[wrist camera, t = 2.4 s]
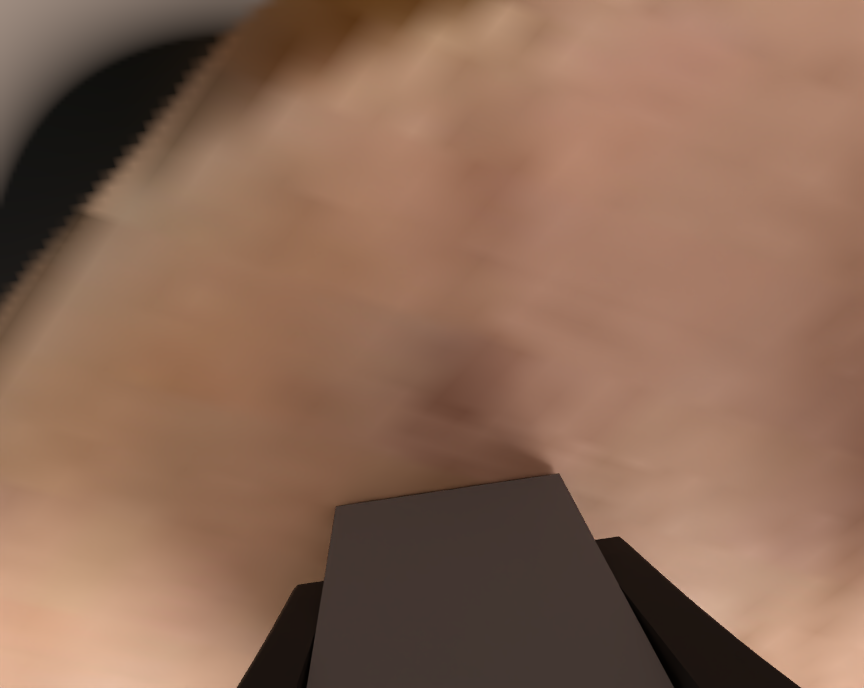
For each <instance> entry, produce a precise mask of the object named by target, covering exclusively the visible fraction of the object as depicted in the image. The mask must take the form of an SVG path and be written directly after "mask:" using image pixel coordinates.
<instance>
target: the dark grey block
mask: <svg viewBox="0 0 864 688" xmlns="http://www.w3.org/2000/svg"><path fill="white" fill-rule="evenodd" d="M307 688H674V687H673V685H672V683H671V681H670V679H669V678H668V676H667V674H666V672H665V670H664V668H663V666H662V664H661V663H660V661H659V659H658V657H657V655H656V653H655V651H654V650H653V648H652V646H651V644H650V642H649V640H648V638H647V637H646V635H645V633H644V631H643V629H642V627H641V625H640V623H639V622H638V620H637V618H636V616H635V614H634V612H633V610H632V609H631V607H630V605H629V603H628V601H627V599H626V597H625V595H624V594H623V592H622V590H621V588H620V586H619V584H618V582H617V581H616V579H615V577H614V575H613V573H612V571H611V569H610V568H609V566H608V564H607V562H606V560H605V558H604V556H603V554H602V553H601V551H600V549H599V547H598V545H597V543H596V541H595V540H594V538H593V536H592V534H591V532H590V530H589V528H588V527H587V525H586V523H585V521H584V519H583V517H582V515H581V513H580V512H579V510H578V508H577V506H576V504H575V502H574V500H573V499H572V497H571V495H570V493H569V491H568V489H567V487H566V486H565V484H564V482H563V480H562V478H561V476H560V474H552V475H546V476H539V477H532V478H525V479H519V480H512V481H505V482H498V483H491V484H485V485H478V486H471V487H464V488H458V489H451V490H444V491H437V492H431V493H424V494H417V495H410V496H404V497H397V498H390V499H383V500H377V501H370V502H363V503H356V504H350V505H343V506H336V509H335V516H334V522H333V528H332V534H331V540H330V546H329V553H328V559H327V565H326V571H325V577H324V584H323V590H322V596H321V602H320V608H319V615H318V621H317V627H316V633H315V639H314V645H313V652H312V658H311V664H310V670H309V676H308V683H307Z"/></svg>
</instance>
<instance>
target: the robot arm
mask: <svg viewBox="0 0 864 688" xmlns="http://www.w3.org/2000/svg"><path fill="white" fill-rule="evenodd" d="M595 541H596V543H597V545H598V547H599V549H600V551H601V553H602V554H603V556H604V558H605V560H606V562H607V564H608V566H609V568H610V569H611V571H612V573H613V575H614V577H615V579H616V581H617V582H618V584H619V586H620V588H621V590H622V592H623V594H624V595H625V597H626V599H627V601H628V603H629V605H630V607H631V609H632V610H633V612H634V614H635V616H636V618H637V620H638V622H639V623H640V625H641V627H642V629H643V631H644V633H645V635H646V637H647V638H648V640H649V642H650V644H651V646H652V648H653V650H654V651H655V653H656V655H657V657H658V659H659V661H660V663H661V664H662V666H663V668H664V670H665V672H666V674H667V676H668V678H669V679H670V681H671V683H672V685H673V687H674V688H801V687H799V686H798V685H797V684H795V683H794V682H793V681H791V680H790V679H789V678H787V677H786V676H785V675H783V674H782V673H781V672H780V671H778V670H777V669H776V668H774V667H773V666H772V665H770V664H769V663H768V662H766V661H765V660H764V659H762V658H761V657H760V656H759V655H757V654H756V653H755V652H754V651H752V650H751V649H750V648H749V647H747V646H746V645H745V644H744V643H742V642H741V641H740V640H739V639H737V638H736V637H735V636H734V635H732V634H731V633H730V632H729V631H728V630H726V629H725V628H724V627H723V626H722V625H720V624H719V623H718V622H717V621H716V620H714V619H713V618H712V617H711V616H709V615H708V614H707V613H706V612H705V611H703V610H702V609H701V608H700V607H699V606H697V605H696V604H695V603H694V602H693V601H692V600H690V599H689V598H688V597H687V596H686V595H685V594H684V593H682V592H681V591H680V590H679V589H678V588H677V587H676V586H674V585H673V584H672V583H671V582H670V581H669V580H668V579H666V578H665V577H664V576H663V575H662V574H661V573H660V572H659V571H658V570H656V569H655V568H654V567H653V566H652V565H651V564H650V563H649V562H648V561H646V560H645V559H644V558H643V557H642V556H641V555H640V554H639V553H638V552H636V551H635V550H634V549H633V548H632V547H631V546H630V545H629V544H628V543H627V542H625V541H624V540H623V539H622V538H620V537H613V538H606V539H599V540H595ZM323 584H324V581H320V582H313V583H307V584H300V585H297V586H296V588H295V589H294V590H293V591H292V593H291V595H290V597H289V599H288V601H287V602H286V604H285V606H284V608H283V610H282V611H281V613H280V615H279V617H278V619H277V620H276V622H275V624H274V626H273V628H272V629H271V631H270V633H269V635H268V636H267V638H266V640H265V642H264V643H263V645H262V647H261V648H260V650H259V652H258V654H257V655H256V657H255V659H254V660H253V662H252V664H251V665H250V667H249V669H248V670H247V672H246V673H245V675H244V677H243V678H242V680H241V682H240V683H239V685H238V687H237V688H307V683H308V676H309V670H310V664H311V658H312V652H313V645H314V639H315V633H316V627H317V621H318V615H319V608H320V602H321V596H322V590H323Z"/></svg>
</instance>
